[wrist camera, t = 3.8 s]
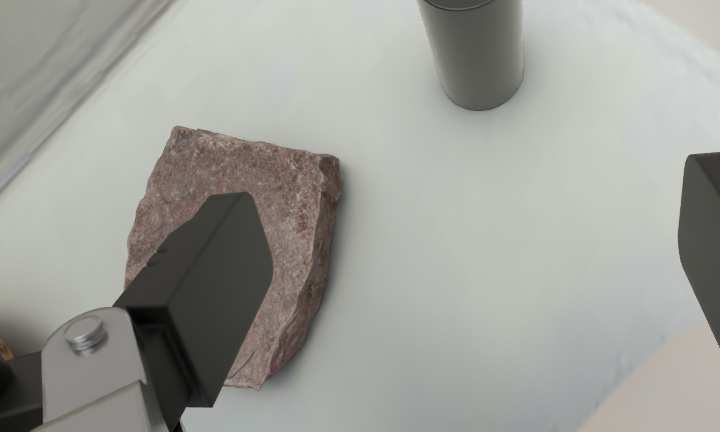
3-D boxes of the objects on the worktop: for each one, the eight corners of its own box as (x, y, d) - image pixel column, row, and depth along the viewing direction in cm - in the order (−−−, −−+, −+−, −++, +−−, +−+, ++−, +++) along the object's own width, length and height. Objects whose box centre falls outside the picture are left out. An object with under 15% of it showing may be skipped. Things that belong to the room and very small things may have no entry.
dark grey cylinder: (537, 52, 29) (542, -73, 21) (499, 123, 29) (489, 25, 20) (463, 25, 30) (440, -102, 22) (427, 93, 30) (389, -10, 22)
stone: (302, 401, 28) (260, 409, 24) (145, 353, 31) (82, 352, 27) (362, 166, 30) (334, 133, 26) (210, 140, 33) (161, 106, 28)
